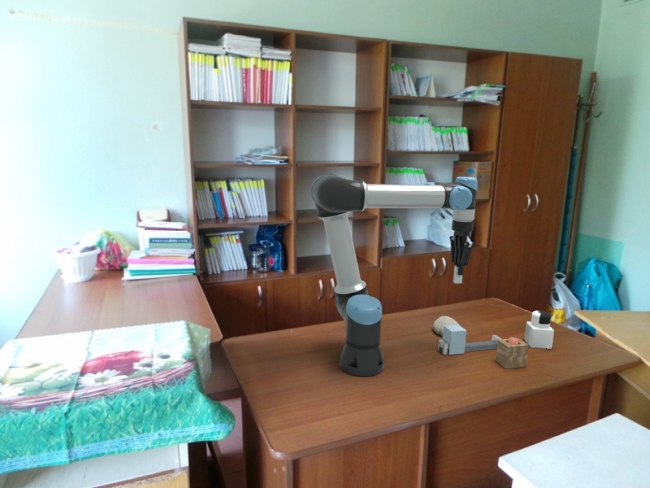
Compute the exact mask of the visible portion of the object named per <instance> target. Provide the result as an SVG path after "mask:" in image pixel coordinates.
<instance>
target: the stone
mask: <svg viewBox="0 0 650 488" xmlns="http://www.w3.org/2000/svg"><path fill="white" fill-rule="evenodd" d="M446 325H460V324H459V322H458V321H456V320H455V319H454V318H453V317H451V316H448V315H442V316H439V317H438V318H437V319H435V321H434V323H433V326H432V328H433V331H434V332H435V334H436V335H438V336H440V337H442V338H443V330H444V326H446Z"/></svg>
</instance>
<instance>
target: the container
mask: <svg viewBox="0 0 650 488" xmlns="http://www.w3.org/2000/svg"><path fill="white" fill-rule="evenodd" d="M551 321H552V314H550V313H548V312H547V311H544V310H534V311H533V312H532V313H531V320H530V321H526V323H525V331H524V340H525V341H524V342H525V343H527V344H528V345H529V348H531V349H546V348H547V350H548V349H549V350H551V349H552V348H553V341H554V333H555V330H554V329H553V328H552V326H550V325H551Z"/></svg>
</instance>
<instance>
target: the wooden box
mask: <svg viewBox="0 0 650 488" xmlns="http://www.w3.org/2000/svg"><path fill="white" fill-rule="evenodd" d="M516 338H517V339H518V345H511V344H509V343H508V342H509V338H501V339H500V340H498V343H497V349H496V353H495V362H497V363H498V364H499V365H500V366H502V367H503V368H504V369H506V370H507V369H514V368H515V369H517V368H524V367H525V368H526V367H527V364H528V357H529V356H528V354H529V348H530V346H529V344H528V343H527V342H526V341H523V340H522V339H520V338H518V337H516Z"/></svg>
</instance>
